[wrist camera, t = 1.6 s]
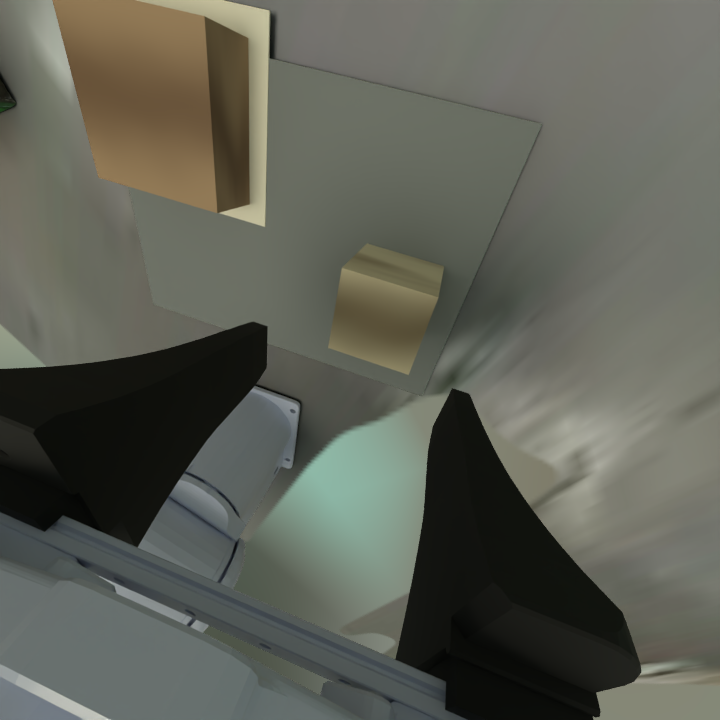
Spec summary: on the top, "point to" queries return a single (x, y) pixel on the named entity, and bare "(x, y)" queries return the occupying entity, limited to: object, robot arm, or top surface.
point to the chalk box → (5, 98)
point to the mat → (333, 203)
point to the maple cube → (384, 307)
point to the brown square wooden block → (162, 99)
